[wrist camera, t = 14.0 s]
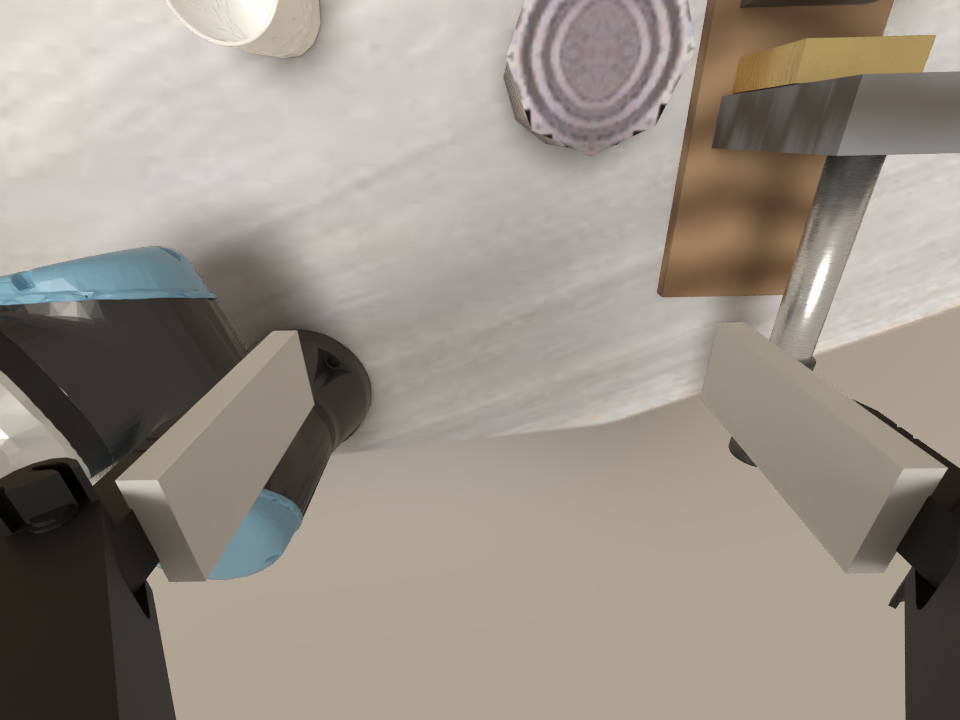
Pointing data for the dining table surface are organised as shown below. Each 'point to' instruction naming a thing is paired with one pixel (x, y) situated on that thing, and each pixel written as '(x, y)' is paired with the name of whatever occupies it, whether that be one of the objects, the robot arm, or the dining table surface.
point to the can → (596, 68)
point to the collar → (831, 60)
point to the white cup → (253, 24)
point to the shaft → (822, 257)
